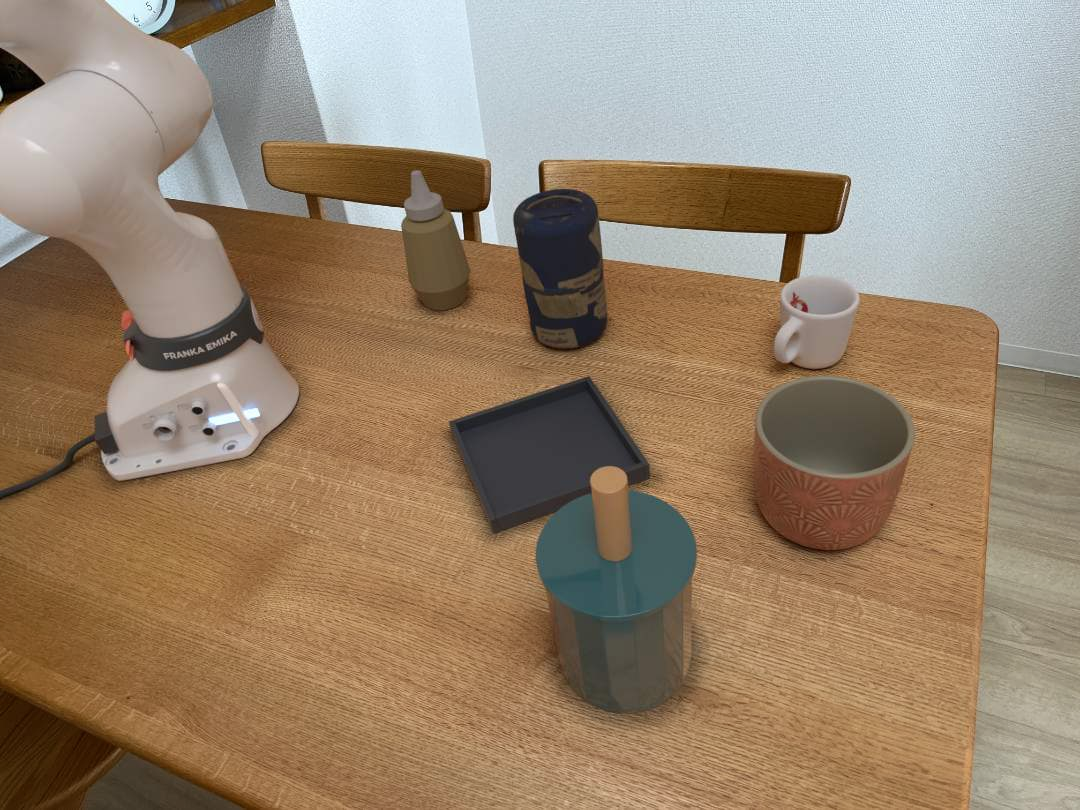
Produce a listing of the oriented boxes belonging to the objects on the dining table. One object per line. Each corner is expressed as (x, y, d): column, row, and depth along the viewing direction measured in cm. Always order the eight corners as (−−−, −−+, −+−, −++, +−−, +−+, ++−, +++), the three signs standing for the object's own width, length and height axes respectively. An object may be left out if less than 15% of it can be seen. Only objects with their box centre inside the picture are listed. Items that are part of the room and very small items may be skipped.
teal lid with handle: (571, 652, 52) (558, 573, 47) (516, 530, 60) (500, 451, 55) (726, 591, 54) (731, 509, 49) (653, 481, 62) (649, 401, 57)
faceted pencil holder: (589, 734, 60) (574, 639, 52) (542, 624, 68) (522, 526, 60) (714, 683, 62) (718, 583, 54) (655, 581, 70) (650, 481, 61)
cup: (806, 400, 84) (813, 339, 79) (744, 369, 89) (747, 310, 84) (864, 351, 89) (875, 291, 84) (803, 325, 94) (809, 266, 89)
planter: (904, 570, 67) (929, 480, 60) (751, 562, 70) (758, 474, 63) (881, 464, 77) (901, 375, 69) (746, 460, 79) (752, 374, 72)
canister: (602, 356, 94) (590, 217, 82) (523, 354, 96) (501, 218, 85) (613, 309, 101) (603, 175, 89) (539, 308, 103) (520, 177, 92)
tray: (493, 534, 76) (489, 520, 75) (452, 434, 87) (448, 421, 86) (650, 478, 79) (649, 464, 77) (590, 389, 90) (589, 375, 89)
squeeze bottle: (442, 277, 112) (413, 153, 100) (487, 291, 108) (463, 163, 96) (403, 307, 107) (368, 181, 96) (448, 322, 103) (417, 193, 92)
